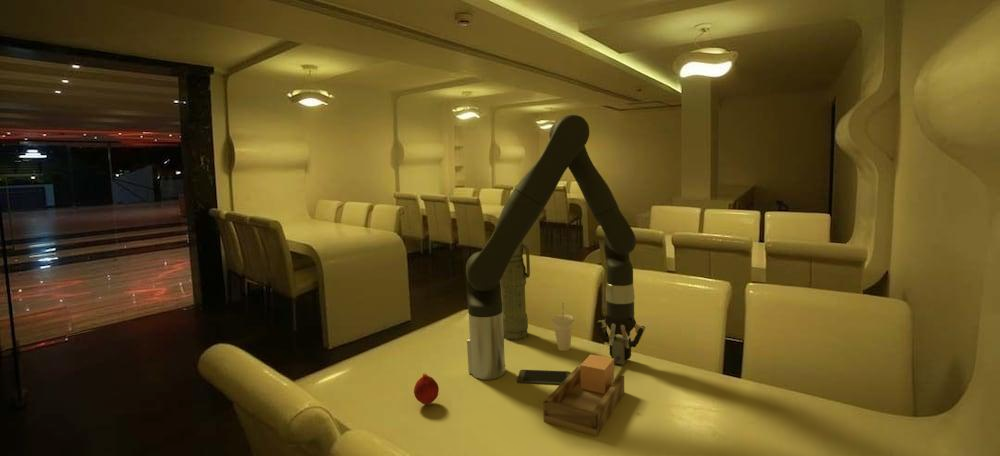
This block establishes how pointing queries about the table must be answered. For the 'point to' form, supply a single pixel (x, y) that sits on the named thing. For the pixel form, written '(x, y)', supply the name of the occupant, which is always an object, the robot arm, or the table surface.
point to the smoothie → (563, 330)
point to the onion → (426, 389)
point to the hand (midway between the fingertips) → (620, 358)
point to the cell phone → (542, 377)
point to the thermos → (515, 295)
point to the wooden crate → (581, 405)
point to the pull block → (602, 368)
